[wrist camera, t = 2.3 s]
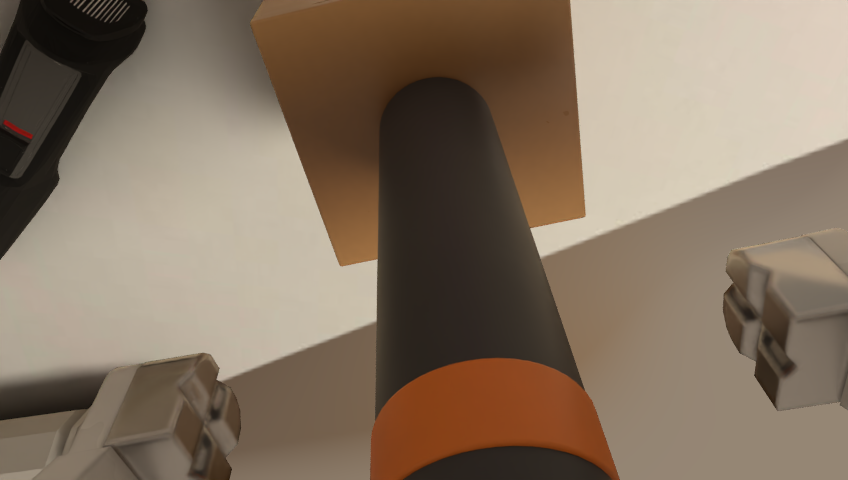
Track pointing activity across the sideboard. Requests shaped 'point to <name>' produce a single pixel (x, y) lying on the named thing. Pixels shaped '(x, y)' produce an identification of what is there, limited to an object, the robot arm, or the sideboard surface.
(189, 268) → the sideboard surface
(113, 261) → the sideboard surface
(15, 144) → the electric trimmer
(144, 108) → the sideboard surface
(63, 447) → the water bottle
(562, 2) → the brown block
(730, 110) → the sideboard surface
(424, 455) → the marker
